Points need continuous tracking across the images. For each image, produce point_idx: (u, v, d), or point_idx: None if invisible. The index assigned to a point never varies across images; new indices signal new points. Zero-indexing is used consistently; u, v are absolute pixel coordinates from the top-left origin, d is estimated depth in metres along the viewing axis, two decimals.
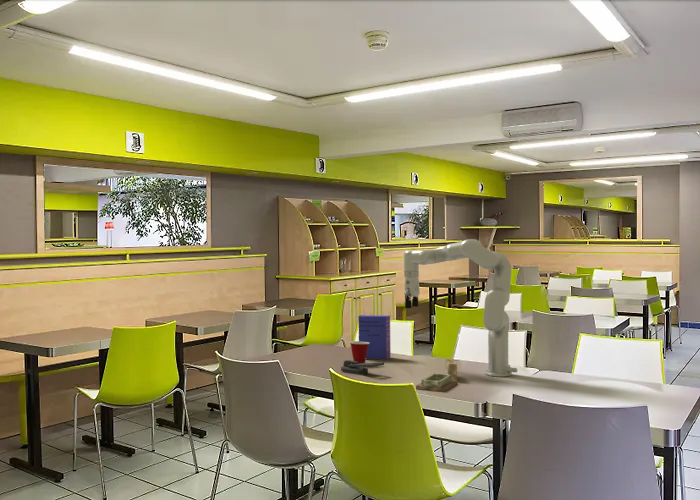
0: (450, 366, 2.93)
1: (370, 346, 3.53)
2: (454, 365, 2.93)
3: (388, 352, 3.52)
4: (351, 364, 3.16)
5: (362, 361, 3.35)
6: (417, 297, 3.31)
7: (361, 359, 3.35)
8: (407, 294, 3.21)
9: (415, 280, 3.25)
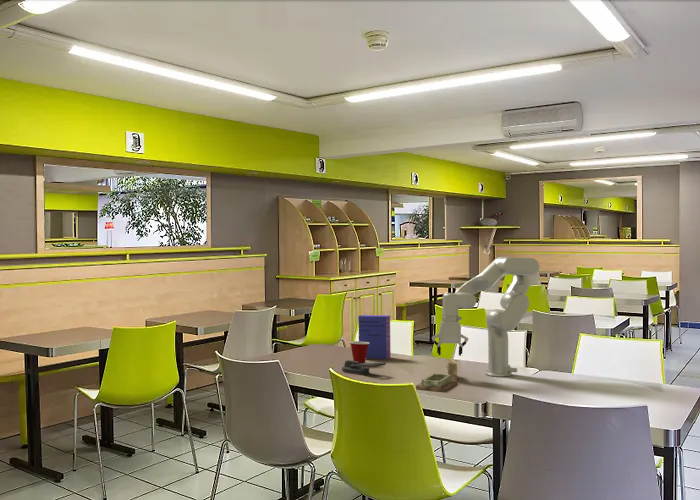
0: (450, 366, 2.93)
1: (370, 346, 3.53)
2: (454, 365, 2.93)
3: (388, 352, 3.52)
4: (352, 364, 3.15)
5: (362, 361, 3.35)
6: None
7: (361, 359, 3.35)
8: (465, 340, 2.99)
9: None
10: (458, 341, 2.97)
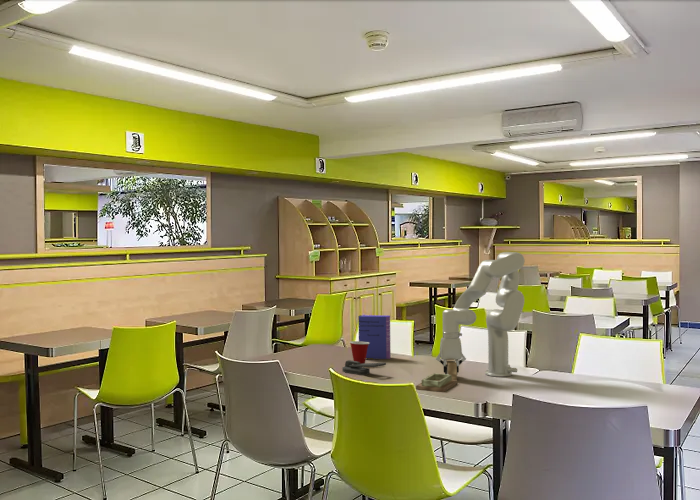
0: (450, 366, 2.93)
1: (370, 346, 3.53)
2: (454, 365, 2.93)
3: (388, 352, 3.52)
4: (353, 364, 3.15)
5: (362, 361, 3.35)
6: None
7: (361, 359, 3.35)
8: None
9: None
10: (459, 357, 2.97)
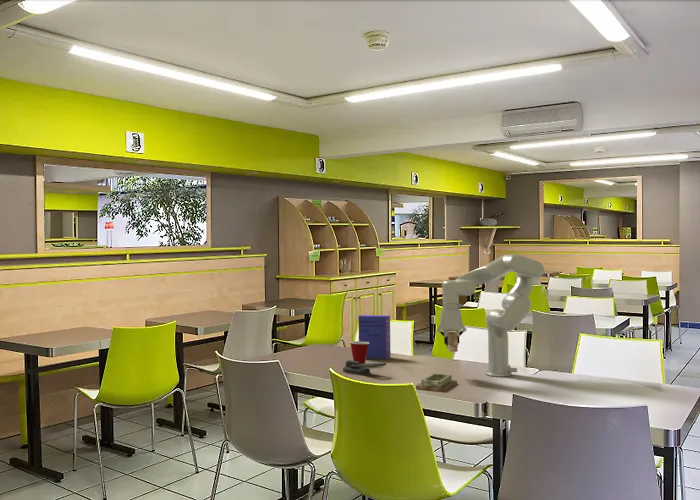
0: (450, 337, 2.93)
1: (370, 346, 3.53)
2: (454, 335, 2.93)
3: (388, 352, 3.52)
4: (353, 364, 3.15)
5: (362, 361, 3.35)
6: None
7: (361, 359, 3.35)
8: None
9: None
10: (460, 328, 2.97)
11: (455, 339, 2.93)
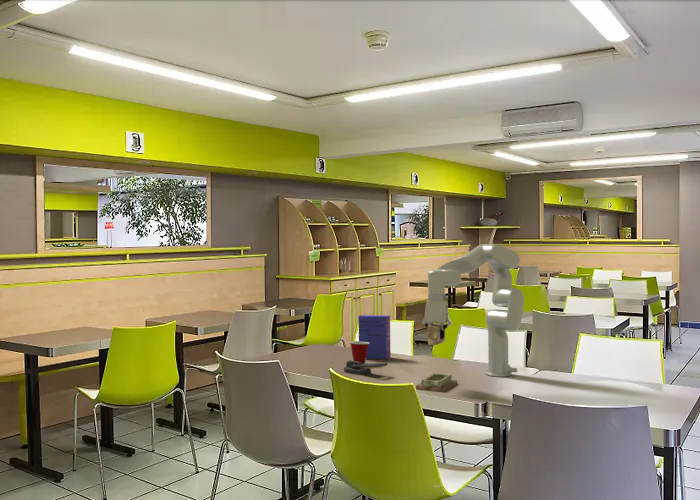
0: (429, 329, 2.78)
1: (370, 346, 3.53)
2: (433, 328, 2.77)
3: (388, 352, 3.52)
4: (354, 365, 3.14)
5: (362, 361, 3.35)
6: None
7: (361, 359, 3.35)
8: None
9: None
10: (443, 321, 2.79)
11: (434, 332, 2.77)
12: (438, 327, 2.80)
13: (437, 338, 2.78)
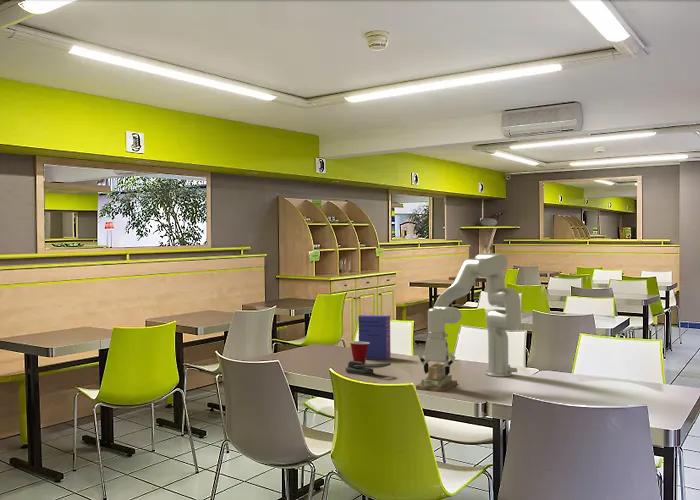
0: (430, 369, 2.78)
1: (370, 346, 3.53)
2: (434, 369, 2.77)
3: (388, 352, 3.52)
4: (356, 365, 3.13)
5: (362, 361, 3.35)
6: (427, 362, 2.86)
7: (361, 359, 3.35)
8: None
9: None
10: (443, 359, 2.79)
11: (434, 372, 2.77)
12: (438, 367, 2.79)
13: (437, 379, 2.78)
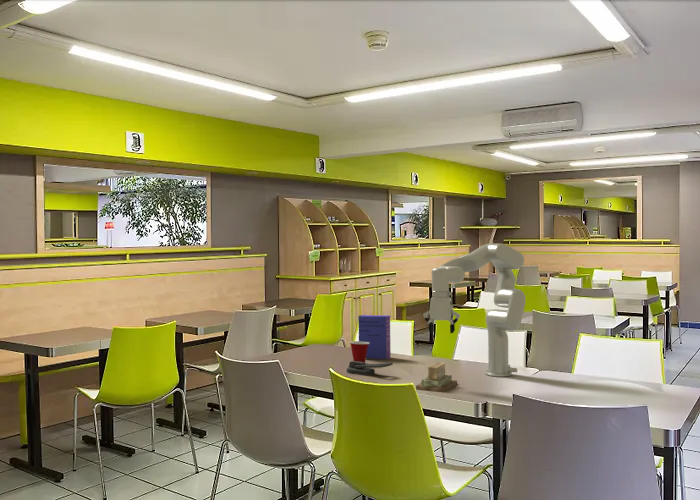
0: (430, 369, 2.78)
1: (370, 346, 3.53)
2: (434, 369, 2.77)
3: (388, 352, 3.52)
4: (358, 365, 3.13)
5: (362, 361, 3.35)
6: (432, 321, 2.89)
7: (361, 359, 3.35)
8: None
9: None
10: (448, 318, 2.82)
11: (434, 372, 2.77)
12: (438, 367, 2.79)
13: (437, 379, 2.78)
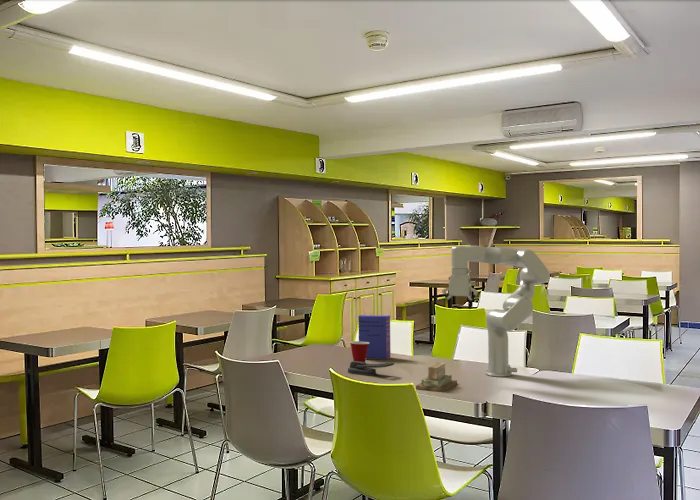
0: (430, 369, 2.78)
1: (370, 346, 3.53)
2: (434, 369, 2.77)
3: (388, 352, 3.52)
4: (359, 365, 3.13)
5: (362, 361, 3.35)
6: (451, 297, 3.02)
7: (361, 359, 3.35)
8: None
9: None
10: (466, 294, 2.95)
11: (434, 372, 2.77)
12: (438, 367, 2.79)
13: (437, 379, 2.78)
